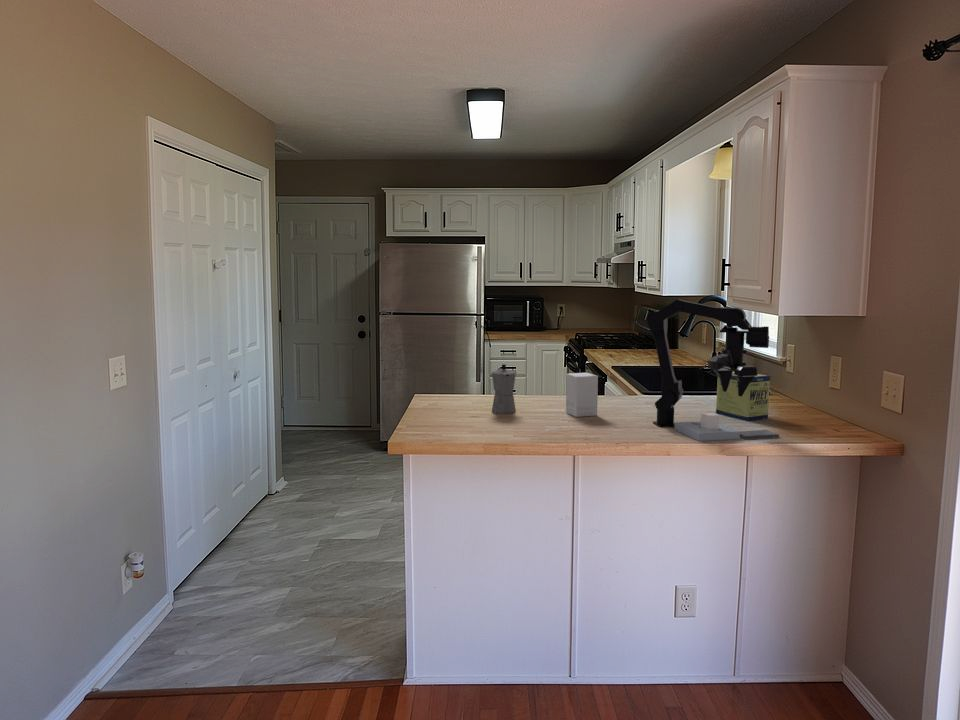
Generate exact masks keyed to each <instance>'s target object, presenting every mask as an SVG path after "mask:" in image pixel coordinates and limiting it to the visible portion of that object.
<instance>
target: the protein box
mask: <svg viewBox="0 0 960 720" xmlns="http://www.w3.org/2000/svg"><path fill="white" fill-rule="evenodd" d="M734 376H735V373H734V371H733V372H732V376H731V379H730V382H729V386H728V389H727V391H726V392H724V391H723V389H722V385H721V382H720V378H719V376H718V375H717V384H716V385H717V386H716V402H715V403H716V404H715V405H716V407H715V414H717V415H722V416H727V417H730V418H733V419H738V420H740V421H744V420H745V422H749V421H756V420H757V419H759V420H764V419H763V418H768V419H769V409H770V408H769V407H770V405H769V404H770V388H771V375H768V374H767V375H766V374H759V373H758V375H757V376H755V378H753V379H752V381H751V382H750V384H749V385H748V387H747V388H746V390H745V392H744V394H743V395H742V396H738V382H737V379H736V378H735V377H734ZM757 421H758V420H757Z"/></svg>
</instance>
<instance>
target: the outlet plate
mask: <svg viewBox="0 0 960 720" xmlns="http://www.w3.org/2000/svg"><path fill="white" fill-rule="evenodd" d="M674 423H675V426H674V430H675V431H677V432H679V433H681V434H683V435H686V436H687V437H690V438H692V439H694V440H696V441H698V442H705V441H707V442H708V441H721V440H725V441H726V440H739V439H741V438H740V431H741V430H737V429H735V428H732V427H731V426H728V425H726V424H723V423H721V422H719V430H707V431H706V430H704V429H702V428H701V420H698V421H697V420H696V421H678V422H675V421H674Z"/></svg>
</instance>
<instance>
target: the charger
mask: <svg viewBox="0 0 960 720" xmlns="http://www.w3.org/2000/svg"><path fill="white" fill-rule="evenodd" d="M700 415H701V417H700V421H701V428H702V429H704V430H706V431H707V430H719V423H720V414H718V413H716V412H702V413H701V414H700Z"/></svg>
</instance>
